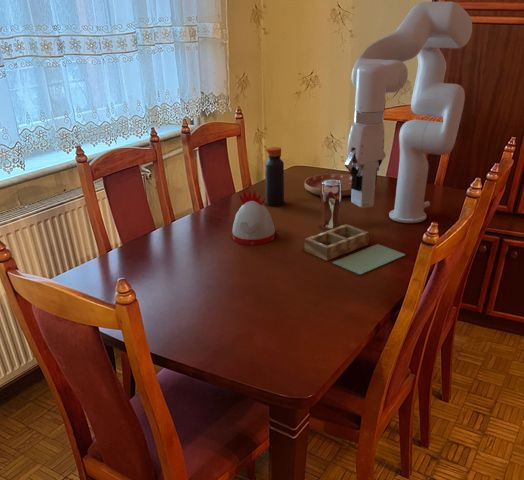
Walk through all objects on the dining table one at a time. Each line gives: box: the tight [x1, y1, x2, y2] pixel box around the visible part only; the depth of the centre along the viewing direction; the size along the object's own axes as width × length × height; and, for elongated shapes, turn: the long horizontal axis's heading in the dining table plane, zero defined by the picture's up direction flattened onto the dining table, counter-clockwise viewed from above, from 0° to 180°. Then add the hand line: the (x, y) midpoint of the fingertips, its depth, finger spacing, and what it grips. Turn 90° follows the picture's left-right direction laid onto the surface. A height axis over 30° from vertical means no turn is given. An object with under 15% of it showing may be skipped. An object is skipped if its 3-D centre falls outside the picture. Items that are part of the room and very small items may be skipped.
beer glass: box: [319, 179, 343, 231], centre depth 179 cm, size 7×7×15 cm
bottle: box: [264, 146, 285, 207], centre depth 199 cm, size 7×7×20 cm
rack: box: [303, 223, 370, 261], centre depth 167 cm, size 18×10×4 cm, turn 129°
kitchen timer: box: [232, 190, 276, 246], centre depth 174 cm, size 14×14×15 cm
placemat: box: [332, 243, 407, 276], centre depth 160 cm, size 20×11×1 cm, turn 129°
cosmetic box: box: [350, 162, 377, 209], centre depth 150 cm, size 6×4×12 cm
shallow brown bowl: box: [304, 173, 352, 197], centre depth 214 cm, size 23×23×4 cm
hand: (363, 186), depth 150 cm, fingers closed on cosmetic box, 5 cm apart
